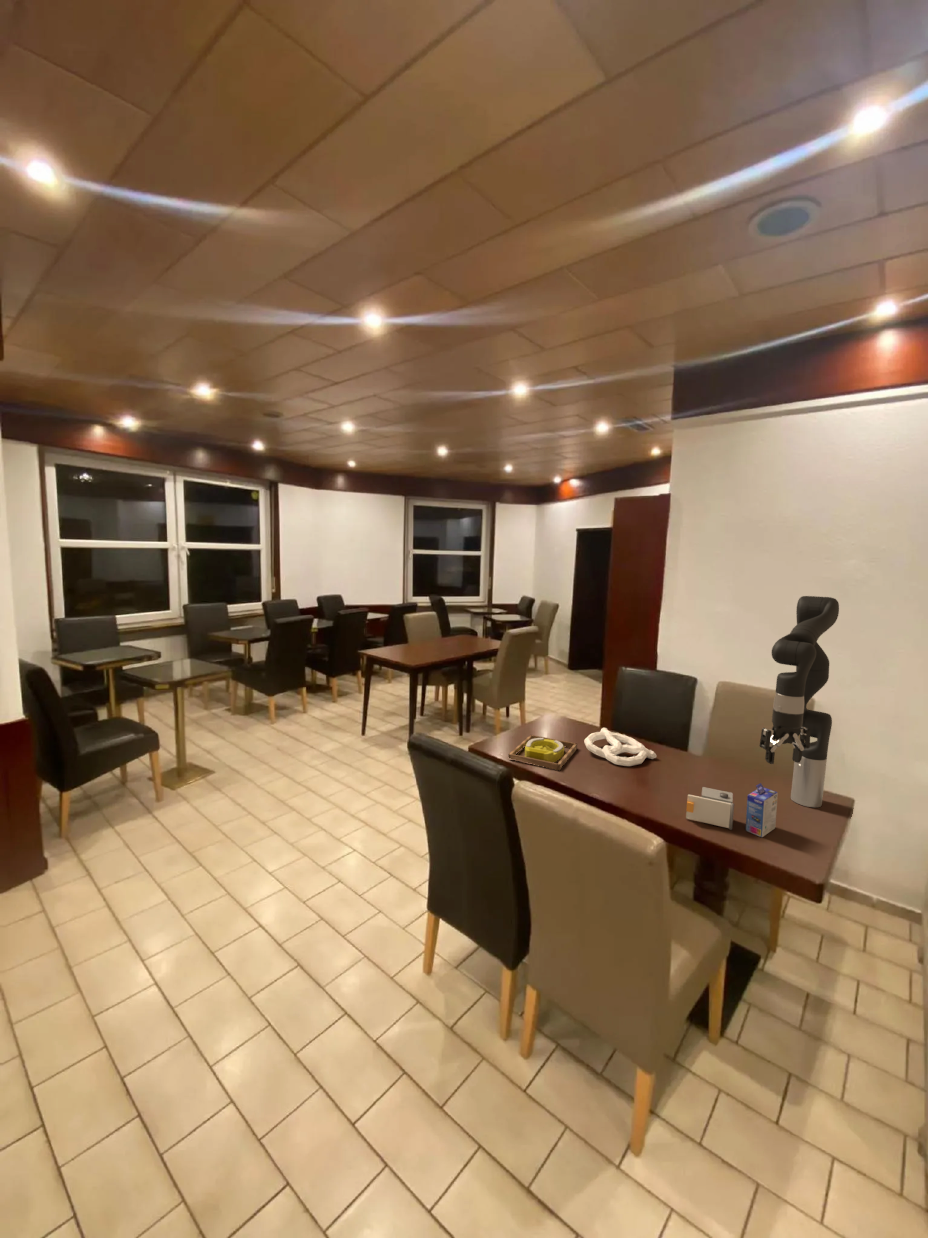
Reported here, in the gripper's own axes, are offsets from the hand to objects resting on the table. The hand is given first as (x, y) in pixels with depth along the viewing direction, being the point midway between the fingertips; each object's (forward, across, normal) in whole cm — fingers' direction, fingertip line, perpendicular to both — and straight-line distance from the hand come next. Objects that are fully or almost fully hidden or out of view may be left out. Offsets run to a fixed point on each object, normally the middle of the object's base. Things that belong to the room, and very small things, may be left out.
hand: (782, 762), depth 149 cm
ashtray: (+27, +50, -75) cm, 94 cm away
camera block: (+26, +9, -16) cm, 32 cm away
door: (+26, +13, -13) cm, 32 cm away
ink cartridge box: (+27, -2, -9) cm, 28 cm away
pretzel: (+27, +17, -73) cm, 79 cm away
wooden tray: (+26, +49, -76) cm, 94 cm away
